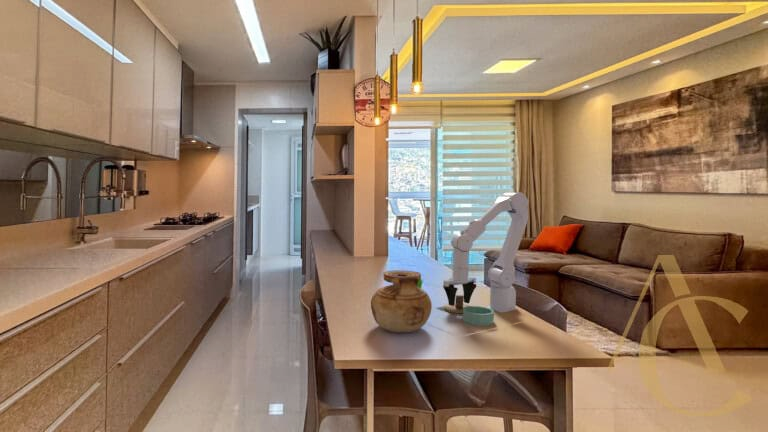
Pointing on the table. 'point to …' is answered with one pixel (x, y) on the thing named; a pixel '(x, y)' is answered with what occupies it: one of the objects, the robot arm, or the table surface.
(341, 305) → the table surface
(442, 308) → the mat
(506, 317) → the table surface
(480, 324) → the bowl
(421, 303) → the clay pot
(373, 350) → the table surface
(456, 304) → the lid
